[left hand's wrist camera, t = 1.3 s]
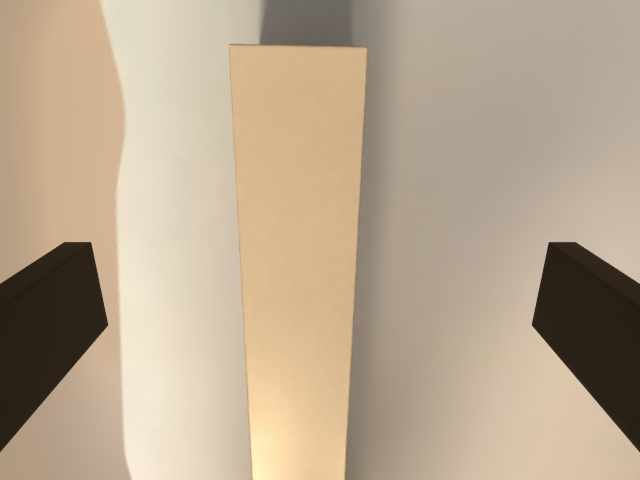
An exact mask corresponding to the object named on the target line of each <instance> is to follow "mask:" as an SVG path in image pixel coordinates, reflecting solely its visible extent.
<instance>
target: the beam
mask: <svg viewBox="0 0 640 480" xmlns="http://www.w3.org/2000/svg"><path fill="white" fill-rule="evenodd" d="M367 51H368V49H367V47H361V46H310V45H259V44H230V45H229V58H230V76H231V95H232V114H233V133H234V152H235V170H236V189H237V208H238V227H239V245H240V264H241V283H242V302H243V321H244V339H245V358H246V377H247V396H248V414H249V433H250V452H251V471H252V480H345V468H346V449H347V430H348V412H349V393H350V374H351V355H352V336H353V317H354V298H355V279H356V260H357V241H358V222H359V203H360V184H361V165H362V146H363V127H364V108H365V89H366V70H367Z"/></svg>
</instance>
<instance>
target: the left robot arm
mask: <svg viewBox="0 0 640 480" xmlns="http://www.w3.org/2000/svg"><path fill="white" fill-rule="evenodd" d="M107 326H108V322H107V317H106V312H105V307H104V302H103V297H102V293H101V288H100V283H99V278H98V273H97V269H96V264H95V259H94V254H93V249H92V244H91V242H64V243H62V244H61V245H59V246H58V247H56V248H55V249H53V250H52V251H50V252H49V253H47V254H46V255H44V256H43V257H41V258H39V259H38V260H36V261H35V262H33V263H32V264H30V265H29V266H27V267H26V268H24V269H23V270H21V271H19V272H18V273H16V274H15V275H13V276H12V277H10V278H9V279H7V280H6V281H4V282H2V283H1V284H0V452H1V451H2V449H3V448H4V447H5V446H6V445H7V444H8V442H9V441H10V440H11V439H12V438H13V436H14V435H15V434H16V433H17V432H18V431H19V429H20V428H21V427H22V426H23V425H24V424H25V422H26V421H27V420H28V419H29V418H30V416H31V415H32V414H33V413H34V412H35V411H36V409H37V408H38V407H39V406H40V405H41V404H42V402H43V401H44V400H45V399H46V398H47V396H48V395H49V394H50V393H51V392H52V391H53V389H54V388H55V387H56V386H57V385H58V384H59V382H60V381H61V380H62V379H63V378H64V376H65V375H66V374H67V373H68V372H69V371H70V369H71V368H72V367H73V366H74V365H75V364H76V362H77V361H78V360H79V359H80V358H81V357H82V355H83V354H84V353H85V352H86V351H87V349H88V348H89V347H90V346H91V345H92V344H93V342H94V341H95V340H96V339H97V338H98V337H99V335H100V334H101V333H102V332H103V331H104V329H105V328H106V327H107ZM532 326H533V327H534V328H535V330H536V331H537V332H538V333H539V334H540V335H541V337H542V338H543V339H544V340H545V341H546V342H547V344H548V345H549V346H550V347H551V348H552V350H553V351H554V352H555V353H556V354H557V355H558V357H559V358H560V359H561V360H562V361H563V362H564V364H565V365H566V366H567V367H568V368H569V369H570V371H571V372H572V373H573V374H574V375H575V377H576V378H577V379H578V380H579V381H580V382H581V384H582V385H583V386H584V387H585V388H586V389H587V391H588V392H589V393H590V394H591V395H592V397H593V398H594V399H595V400H596V401H597V402H598V404H599V405H600V406H601V407H602V408H603V409H604V411H605V412H606V413H607V414H608V415H609V416H610V418H611V419H612V420H613V421H614V422H615V424H616V425H617V426H618V427H619V428H620V429H621V431H622V432H623V433H624V434H625V435H626V436H627V438H628V439H629V440H630V441H631V442H632V444H633V445H634V446H635V447H636V448H637V449H638V451H639V452H640V284H639V283H638V282H636V281H635V280H633V279H631V278H630V277H628V276H627V275H625V274H624V273H622V272H621V271H619V270H618V269H616V268H614V267H613V266H611V265H610V264H608V263H607V262H605V261H604V260H602V259H601V258H599V257H598V256H596V255H594V254H593V253H591V252H590V251H588V250H587V249H585V248H584V247H582V246H581V245H579V244H578V243H576V242H549V244H548V249H547V254H546V259H545V264H544V268H543V273H542V278H541V283H540V288H539V293H538V297H537V302H536V307H535V312H534V317H533V322H532Z"/></svg>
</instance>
